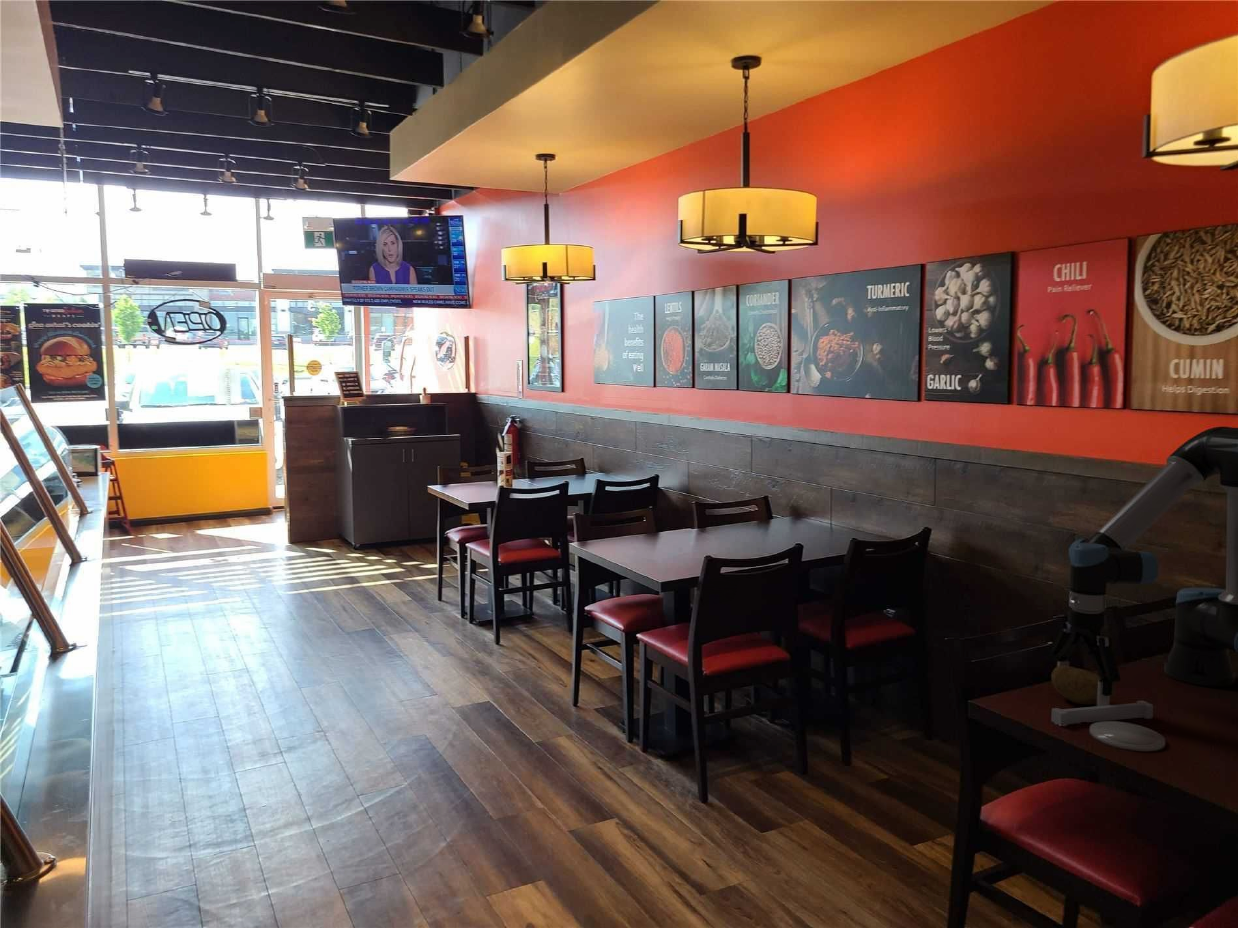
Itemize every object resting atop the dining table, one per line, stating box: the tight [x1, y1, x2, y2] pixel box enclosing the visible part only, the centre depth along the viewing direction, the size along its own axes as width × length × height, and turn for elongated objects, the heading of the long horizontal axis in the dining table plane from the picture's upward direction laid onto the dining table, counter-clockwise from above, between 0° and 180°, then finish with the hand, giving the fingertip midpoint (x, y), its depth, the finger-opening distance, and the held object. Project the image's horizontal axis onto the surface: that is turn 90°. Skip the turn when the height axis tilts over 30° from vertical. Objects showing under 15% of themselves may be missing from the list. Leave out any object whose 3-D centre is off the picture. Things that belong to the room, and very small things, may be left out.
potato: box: [1050, 665, 1117, 705], centre depth 206 cm, size 10×14×8 cm
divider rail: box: [1050, 700, 1154, 727], centre depth 196 cm, size 24×3×3 cm, turn 101°
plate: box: [1089, 720, 1166, 752], centre depth 187 cm, size 14×14×1 cm
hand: (1081, 697), depth 207 cm, fingers closed on potato, 13 cm apart
